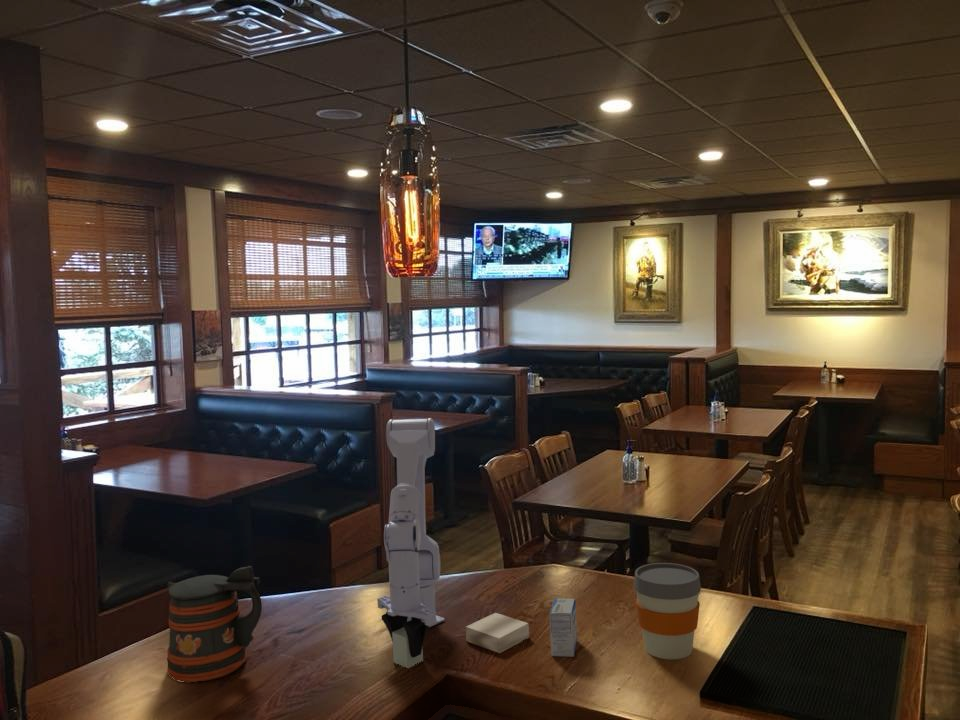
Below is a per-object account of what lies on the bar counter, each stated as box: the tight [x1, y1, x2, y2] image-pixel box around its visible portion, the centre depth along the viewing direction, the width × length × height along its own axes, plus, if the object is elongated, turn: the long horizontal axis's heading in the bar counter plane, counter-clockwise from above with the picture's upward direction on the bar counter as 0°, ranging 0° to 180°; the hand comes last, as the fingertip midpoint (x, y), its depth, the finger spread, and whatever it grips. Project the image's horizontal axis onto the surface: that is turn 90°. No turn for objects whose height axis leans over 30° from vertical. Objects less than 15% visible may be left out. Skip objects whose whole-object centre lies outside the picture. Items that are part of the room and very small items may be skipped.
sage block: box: [391, 627, 424, 669], centre depth 152 cm, size 4×4×6 cm
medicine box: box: [549, 597, 578, 658], centre depth 155 cm, size 8×4×9 cm, turn 168°
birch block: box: [465, 612, 530, 654], centre depth 161 cm, size 9×9×3 cm
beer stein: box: [166, 565, 263, 683], centre depth 153 cm, size 19×15×20 cm
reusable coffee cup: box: [633, 562, 702, 660], centre depth 153 cm, size 12×13×15 cm
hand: (407, 652), depth 152 cm, fingers closed on sage block, 4 cm apart
